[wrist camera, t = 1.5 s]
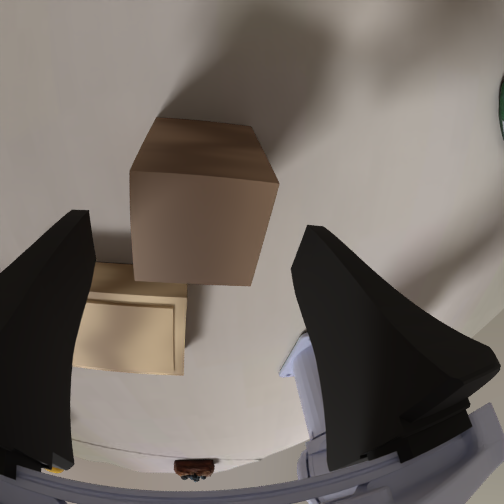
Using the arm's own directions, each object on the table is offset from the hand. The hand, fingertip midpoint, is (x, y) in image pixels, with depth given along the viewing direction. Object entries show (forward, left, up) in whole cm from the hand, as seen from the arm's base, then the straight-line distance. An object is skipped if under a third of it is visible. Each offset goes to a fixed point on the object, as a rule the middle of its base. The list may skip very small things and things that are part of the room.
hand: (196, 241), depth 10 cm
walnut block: (0, 0, -6) cm, 6 cm away
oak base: (+5, +12, -6) cm, 14 cm away
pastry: (-3, +80, -7) cm, 80 cm away
